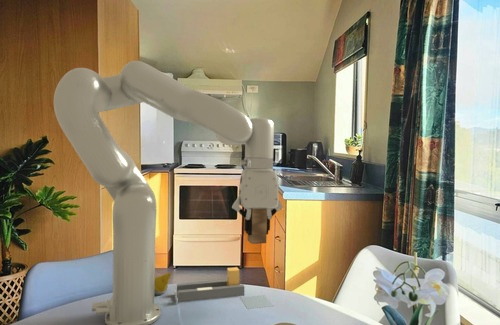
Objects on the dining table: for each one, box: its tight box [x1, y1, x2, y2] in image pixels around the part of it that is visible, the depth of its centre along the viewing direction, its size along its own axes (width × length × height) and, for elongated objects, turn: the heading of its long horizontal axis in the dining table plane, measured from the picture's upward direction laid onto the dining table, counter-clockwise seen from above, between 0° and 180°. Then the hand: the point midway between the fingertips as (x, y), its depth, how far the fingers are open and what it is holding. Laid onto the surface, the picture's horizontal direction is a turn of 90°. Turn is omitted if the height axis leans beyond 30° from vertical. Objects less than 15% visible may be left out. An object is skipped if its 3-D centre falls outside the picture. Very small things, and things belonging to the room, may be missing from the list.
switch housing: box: [176, 278, 245, 305], centre depth 93 cm, size 18×6×3 cm, turn 107°
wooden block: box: [247, 208, 268, 245], centre depth 88 cm, size 4×4×10 cm
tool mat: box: [240, 294, 274, 310], centre depth 88 cm, size 7×7×1 cm
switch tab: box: [226, 266, 240, 286], centre depth 95 cm, size 3×3×5 cm
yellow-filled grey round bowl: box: [154, 272, 172, 296], centre depth 93 cm, size 5×5×10 cm
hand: (256, 233), depth 88 cm, fingers closed on wooden block, 4 cm apart
